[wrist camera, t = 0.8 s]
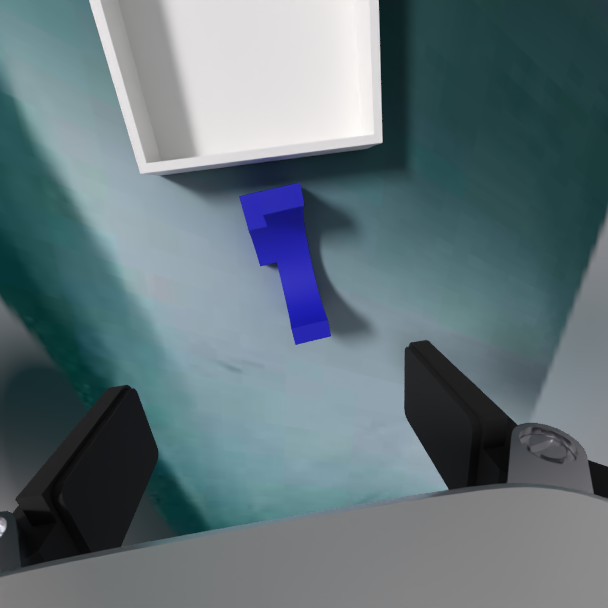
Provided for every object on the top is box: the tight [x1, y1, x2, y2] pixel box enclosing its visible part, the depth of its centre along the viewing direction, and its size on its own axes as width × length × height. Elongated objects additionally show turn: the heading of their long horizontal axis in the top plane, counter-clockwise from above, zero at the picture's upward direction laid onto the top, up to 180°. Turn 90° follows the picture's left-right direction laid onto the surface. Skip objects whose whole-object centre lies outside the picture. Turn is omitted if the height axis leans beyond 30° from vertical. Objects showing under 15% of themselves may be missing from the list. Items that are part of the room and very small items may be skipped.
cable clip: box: [239, 183, 331, 345], centre depth 26 cm, size 12×4×6 cm, turn 12°
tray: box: [89, 0, 383, 176], centre depth 21 cm, size 17×17×4 cm
